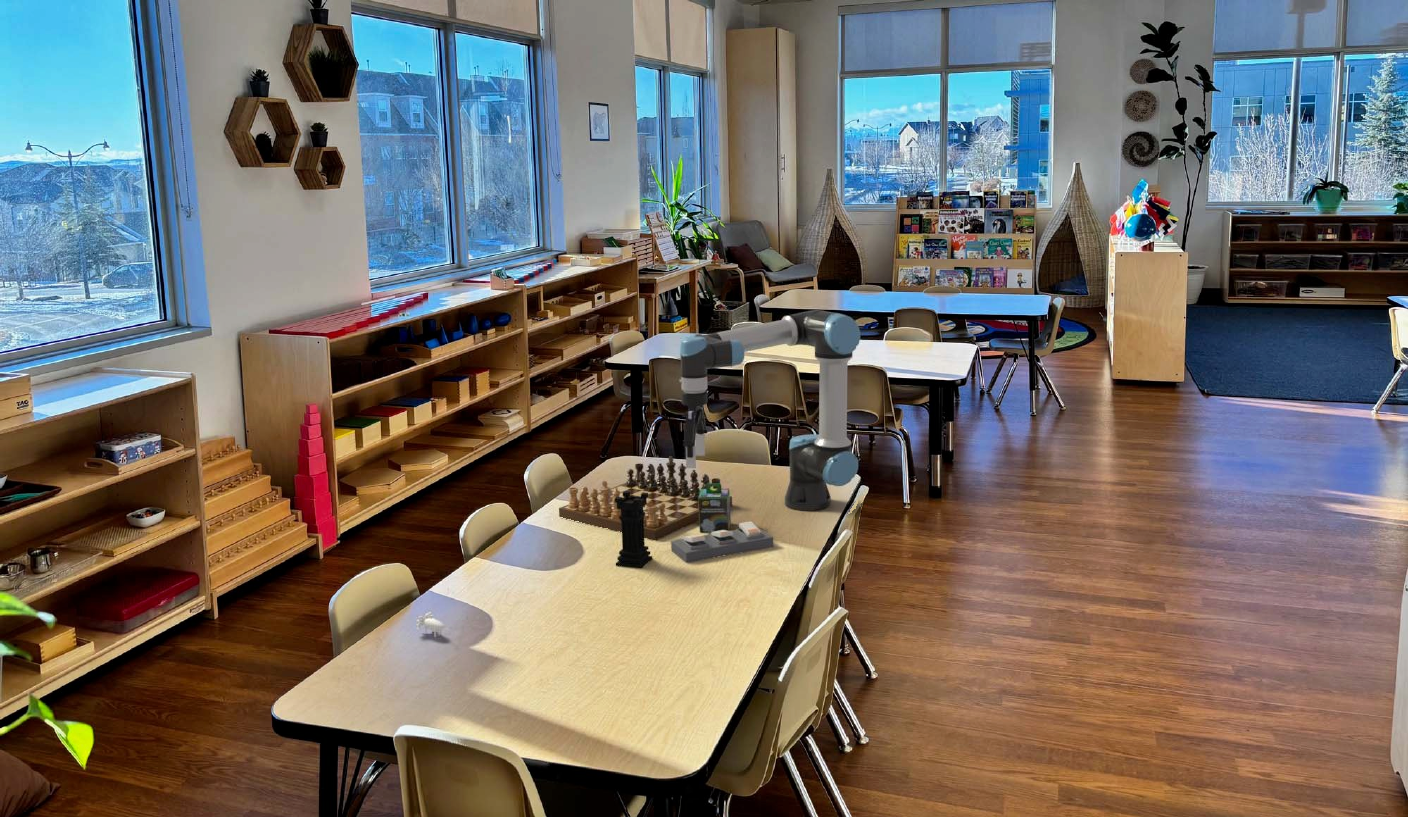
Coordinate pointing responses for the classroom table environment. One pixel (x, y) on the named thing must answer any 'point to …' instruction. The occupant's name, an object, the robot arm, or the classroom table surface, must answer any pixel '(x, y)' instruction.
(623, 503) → the chess piece
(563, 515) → the chess set
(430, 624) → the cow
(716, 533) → the middle rocker
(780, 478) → the classroom table surface
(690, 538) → the rocker
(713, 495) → the chalk box
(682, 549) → the rocker switch panel
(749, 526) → the rocker
